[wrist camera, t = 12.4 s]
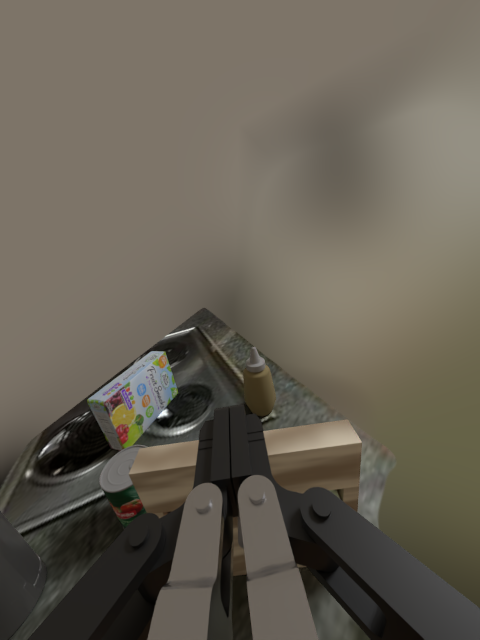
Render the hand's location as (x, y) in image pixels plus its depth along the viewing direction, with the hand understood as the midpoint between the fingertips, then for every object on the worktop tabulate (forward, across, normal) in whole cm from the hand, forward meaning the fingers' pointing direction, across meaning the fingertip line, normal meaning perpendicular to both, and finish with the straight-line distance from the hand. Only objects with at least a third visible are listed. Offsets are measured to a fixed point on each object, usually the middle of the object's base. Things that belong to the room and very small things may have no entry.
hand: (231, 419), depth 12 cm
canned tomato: (+18, +20, +35) cm, 44 cm away
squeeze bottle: (+37, -4, +35) cm, 51 cm away
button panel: (+12, 0, +35) cm, 37 cm away
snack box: (+41, +27, +36) cm, 60 cm away
